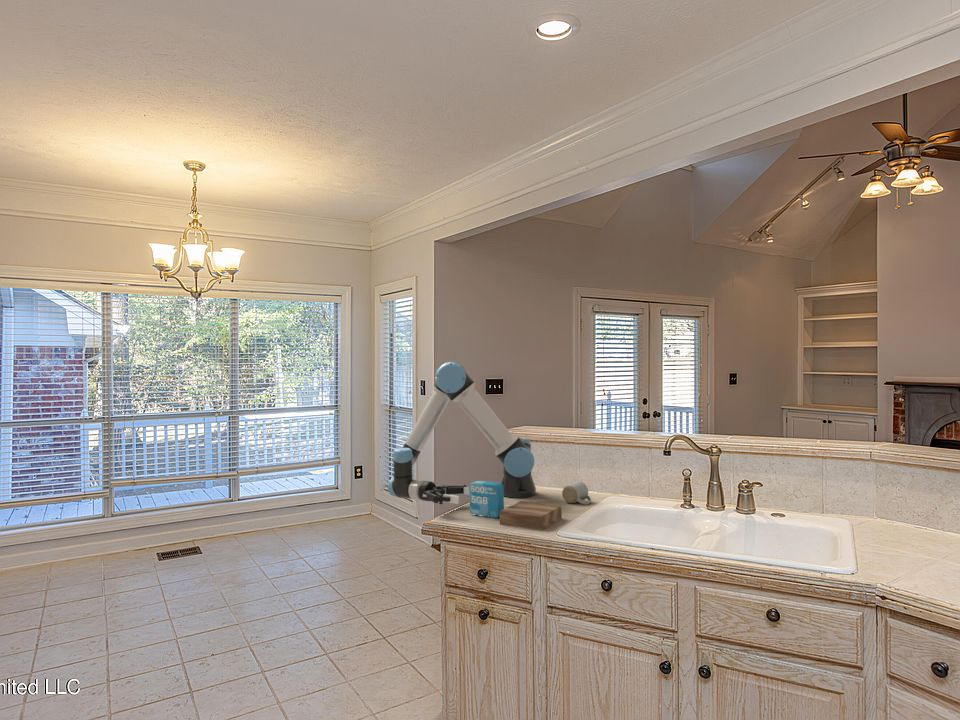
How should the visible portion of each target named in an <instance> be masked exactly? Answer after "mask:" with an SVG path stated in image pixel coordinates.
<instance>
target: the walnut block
mask: <svg viewBox="0 0 960 720" xmlns="http://www.w3.org/2000/svg"><path fill="white" fill-rule="evenodd" d="M499 513H500V516H499V525H501V524H502V525H503V526H510V527H516V528H522V529H529V530H530V529H531V530H538V531H543V530H545V529H547V528H548V527H550V526H552V525H554V524H555V523H557V522H558V521H560V520H562V514H563V513H562V505H559V504H557V505H556V504H551V503H549V504H548V503H540V502H533V501H525V500H524V501H523V500H520V501H518V502H515V503H514V504H511V505H509V506H507V507H504V509H503V510H501V511H499ZM502 525H501V526H502Z"/></svg>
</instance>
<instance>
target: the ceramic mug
mask: <svg viewBox="0 0 960 720" xmlns="http://www.w3.org/2000/svg"><path fill="white" fill-rule="evenodd" d="M561 491H562V492H561V494H562V498H563V500H564V502H567V503H568V504H576V503H580V504H581V505H585V506H587V505H590V504H591V502H592V498H591V496H590V495H589V488H588V487H587V485H586V483H584V482H582V481H581V480H576V481H574V482H571V483H569V484H567V485H566V486H564V487H563V489H562V490H561Z"/></svg>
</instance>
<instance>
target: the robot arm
mask: <svg viewBox="0 0 960 720" xmlns="http://www.w3.org/2000/svg"><path fill="white" fill-rule="evenodd" d="M475 385H476V384H475V381H474V380H473V378H471V376H470V375H469V374H468V373H467V372H466V369H465V367H464V366H463V365H461V364H460V363H458V362H455V361H448V362H447V361H446V362H445V363H443V364H441V365H440V367H438V369H437V370H436V372H435V384H434V385H433V392H432V394H431V395H430V398H429V399H428V401H427V403H426V405H425V406H424V408H423V410H422V412H421V413H420V416H419V418H418V419H417V421H416V423H415V424H414V427H412V429H411V431H410V434H409V435H408V437H407V439H406V440H405V443H404V444H403V446H402V447H398V448H395V449H394V450H393V456H392V459H393V477H392V478H390V479H389V481H388V485H387V491H388V494H389V495H390V496H392V497H395V498H400V499H411V500H415V501H416V502H419V501H423V502H432V503H435V504H438V505H443V503H446V504H447V503H448V504H456V505H458V504H459V505H460V496H459V494H460V495H462V494H463V495H464V496H465V495H467V496H469V486H467V485H466V484H463V485H446V484H445V485H437V486H436V484H435V482H433V481H429V480H422V479H414V474H413V473H414V471H413V470H414V469H413V468H414V467H413V466H414V464H415V463H416V462H417V460H418V457H420V454H421V452H422V450H423V449H424V446H425V445H426V443H427V441H428V439H429V438H430V436H431V434H432V432H433V431H434V429H435V426H436V425H437V424H438V421H439V420H440V418H441V416H442V414H443V412H445V410H446V407H447V406H448V403H449V402H450V401H451V402H454V403H458V405H459V407H461V408H462V409H463V411H464V412H465V413H466V415H467V416H468V417H469V418H470V419H471V421H472V422H473V423H474V424H475V426H477V428H478V429H479V430H480V431H481V433H482V435H483V436H485V438H486V439H487V440H488V442H489V443H490V444H491V445H492V447H493V448H494V449H495V456H496V457H497V459H498V460H499V461H500V463H501V464H502V466H503V467H502V469H503V471H502V472H503V477H502V480H501V482H500V483H501V484H502V485H503V490H504V497H505V496H506V498H512V497H514V499H515V498H516V499H520V498H521V499H522V498H529V497H532V496H533V497H534V496H535V495H536V494H537V488H536V485H535V483H534V480H533V476H532V470H533V469H534V466H535V456H534V454H533V453H532V451H531V448H532V447H531V446H532V444H531V439H528V438H520V436H519V435H513V434H512V433H511V432H510V430H509V429H508V427H506V425H505V424H504V423H503V422H502V421H501V419H500V418H499V417H498V416H497V414H496V413H495V412H494V411H493V410H492V409H491V407H490V406H489V405H488V403H487V402H486V401H485V400H484V398H482V396H481V394H480V393H479V392H478V391H477V390H476V389H475Z"/></svg>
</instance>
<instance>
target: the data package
mask: <svg viewBox="0 0 960 720" xmlns="http://www.w3.org/2000/svg"><path fill="white" fill-rule="evenodd" d="M501 483H502V482H497V481H486V480H485V481H484V480H476V481H473V482H471V483H470V484H469V485H468V487H469V495H468V496H469V513H470V515H472V514H475V515H482V516H489V517H494V518H493V519H497V518H500V513H499V511H501V510H503V509H505V501H504V500H505V499H504V498H505V496H504V490H503V485H502V484H501ZM489 517H488V518H489Z"/></svg>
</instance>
